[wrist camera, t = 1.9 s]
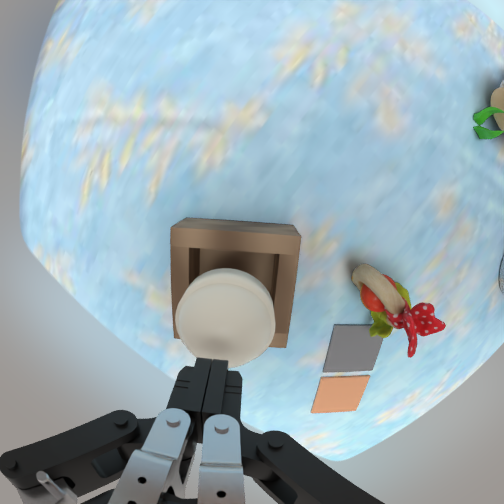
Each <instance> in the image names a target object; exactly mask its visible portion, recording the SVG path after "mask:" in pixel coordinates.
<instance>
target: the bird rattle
mask: <svg viewBox="0 0 504 504" xmlns="http://www.w3.org/2000/svg"><path fill="white" fill-rule="evenodd" d="M352 281H353V283H354V284H355V285H356V286H357V288H358V289H359V291H360V297H361V300H362V303H363V304H364V306H365V307H366V308H367V309H369V310H371V316H372V318H373V320H374V323H373V325H372V326H371V328H370V329H369V333H370V336H371V337H373V336H376V335H378V336H380V337H382V338H386V337H388V336H389V335H390V334H391V331H392V329H393V327H394V328H396V329H402V328H404V329H405V331H406V333H407V336H408V340H409V346H408V357H412V356H413V355H414V354H415V351H416V347H417V335H416V333H417V334H419V335H421V336H427V335H430V334H433V333H436V332H439V331H442V330H443V329H444V328H445V326H446V325H445V323H444V322H442V321H440V320H439V319H437V318H435V316H434V307H433V305H432V304H430V303H419V304H417V305H415V306H414V307H413V308H412V309H411V303H410V298H409V293H408V291H407V290H406V289H405V288H403V287H402V286H401V285H400V284H399V283H397V282H394V281H393V280H392V279H391V278H390V277H389V276H387V275H384V274H381V273H380V272H379V271H378V270H376V269H375V268H374V267H372V266H370V265H368V264H361V265H359V266H358V267H357V268H355V269H354V271H353V274H352Z"/></svg>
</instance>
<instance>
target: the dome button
mask: <svg viewBox="0 0 504 504" xmlns="http://www.w3.org/2000/svg"><path fill="white" fill-rule="evenodd" d="M175 323H176V328H177V332H178V334H179V337H180V338H181V340H182V342H183V343H184V344H185V346H186V347H187V349H188V350H189V351H190V352H191V353H192V354H193V355H194V356H195V357H196V358H197V357H200V358H209V359H220V360H228V368H234V367H238V366H241V365H244V364H246V363H248V362H250V361H252V360H253V359H255V358H257V357H258V356H260V355H261V354H262V353H263V352H264V351H265V350H266V349H267V348H268V347H269V345H270V343H271V342H272V339H273V337H274V333H275V316H274V307H273V302H272V298H271V296H270V294H269V292H268V290H267V289H266V287H265V286H264V285H263V284H262V283H261V282H260V281H259V280H258V279H256V278H255V277H254V276H252V275H250V274H248V273H246V272H244V271H241V270H237V269H231V268H221V269H214V270H210V271H208V272H205V273H203V274H202V275H200V276H198V277H197V278H196V279H195V280H194V281H193V282H192V283H191V284H190V285H189V287H188V288H187V290H186V292H185V293H184V295H183V297H182V298H181V300H180V302H179V304H178V306H177V309H176V315H175Z"/></svg>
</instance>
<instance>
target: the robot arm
mask: <svg viewBox="0 0 504 504" xmlns="http://www.w3.org/2000/svg"><path fill="white" fill-rule="evenodd" d="M499 280H500V288H501V290H502V292H503V293H504V257H503V260H502V264H501V269H500V277H499ZM241 394H242V377H241V375H240V373H239V371H228V360H220V359H209V358H200V357H197V359H196V362H195V366H194V367H190V366H185V367H184V368H183V369H182V370H181V371H180V372H179V374H178V376H177V379H176V382H175V385H174V388H173V391H172V393H171V396H170V399H169V402H168V405H167V408H166V409H165V410H163V411H162V412H160V413H159V414H158V416H157V417H155V418H149V419H137V418H136V416H135V415H134V414H133V413H131V412H129V411H125V410H117V411H113V412H111V413H109V414H107V415H104V416H102V417H100V418H97V419H95V420H93V421H90V422H88V423H85V424H83V425H81V426H78V427H76V428H73V429H71V430H68V431H66V432H63V433H60V434H58V435H55V436H53V437H50V438H47V439H44V440H41V441H38V442H36V443H33V444H30V445H27V446H24V447H21V448H17V449H14V450H11V451H8V452H5V453H4V454H2V456H1V457H0V471H1V472H2V473H3V474H4V475H5V476H6V478H7V479H9V481H10V482H11V483H12V484H13V485H14V486H15V487H16V488H17V490H18V493H19V495H20V497H21V499H22V501H23V504H77V497H80V496H82V495H84V494H87V493H89V492H91V491H94V490H96V489H98V488H100V487H102V486H105V485H107V484H109V483H111V482H113V481H115V480H117V479H119V478H120V480H119V482H118V484H117V486H116V488H115V489H111V490H108V491H106V492H104V493H102V494H100V495H98V496H96V497H94V498H92V499H90V500H88V501H85V502H83V503H81V504H245V493H244V477H243V474H244V475H247V476H250V477H252V478H253V480H254V481H255V482H256V483H257V484H258V485H259V486H260V487H261V488H262V489H263V490H264V491H265V492H266V493H267V494H268V495H269V496H270V497H272V498H273V499H274V500H275V501H276V502H277V503H278V504H385V503H383V502H381V501H379V500H378V499H376V498H374V497H373V496H371V495H370V494H368V493H367V492H365V491H363V490H362V489H360V488H359V487H357V486H356V485H354V484H353V483H351V482H350V481H348V480H347V479H345V478H344V477H343V476H341V475H340V474H338V473H337V472H336V471H334V470H333V469H331V468H330V467H328V466H327V465H326V464H324V463H323V462H322V461H320V460H319V459H318V458H317V457H315V456H314V455H313V454H311V453H310V452H309V451H308V450H306V449H305V448H304V447H303V446H301V445H300V444H299V443H298V442H296V441H295V440H294V439H293V438H292V437H290V436H289V435H288V434H286V433H284V432H281V431H268V432H265V433H263V434H258V433H255V432H252V431H250V430H248V429H247V428H245V427H244V426H243V424H242V423H241V420H240V411H241ZM197 443H202V444H203V447H202V461H201V464H200V470H199V485H198V498H196V499H185V488H186V484H187V481H188V477H189V474H190V471H191V467H192V464H193V460H194V457H195V450H196V445H197Z"/></svg>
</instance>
